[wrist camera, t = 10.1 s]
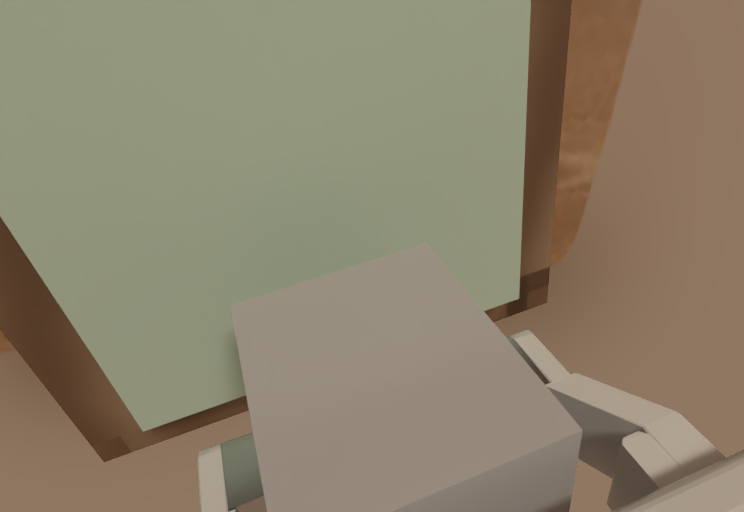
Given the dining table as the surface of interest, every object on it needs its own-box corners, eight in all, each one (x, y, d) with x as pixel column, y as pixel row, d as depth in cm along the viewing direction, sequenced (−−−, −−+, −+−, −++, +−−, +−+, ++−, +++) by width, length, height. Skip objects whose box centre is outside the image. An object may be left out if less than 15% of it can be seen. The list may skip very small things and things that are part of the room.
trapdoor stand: (126, 262, 30) (97, 525, 17) (-84, -138, 19) (-627, -269, 6) (420, 176, 33) (584, 339, 20) (384, -202, 23) (688, -374, 9)
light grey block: (230, 305, 12) (275, 560, 7) (426, 242, 13) (583, 430, 8) (281, 434, 15) (338, 676, 10) (438, 374, 16) (559, 570, 11)
